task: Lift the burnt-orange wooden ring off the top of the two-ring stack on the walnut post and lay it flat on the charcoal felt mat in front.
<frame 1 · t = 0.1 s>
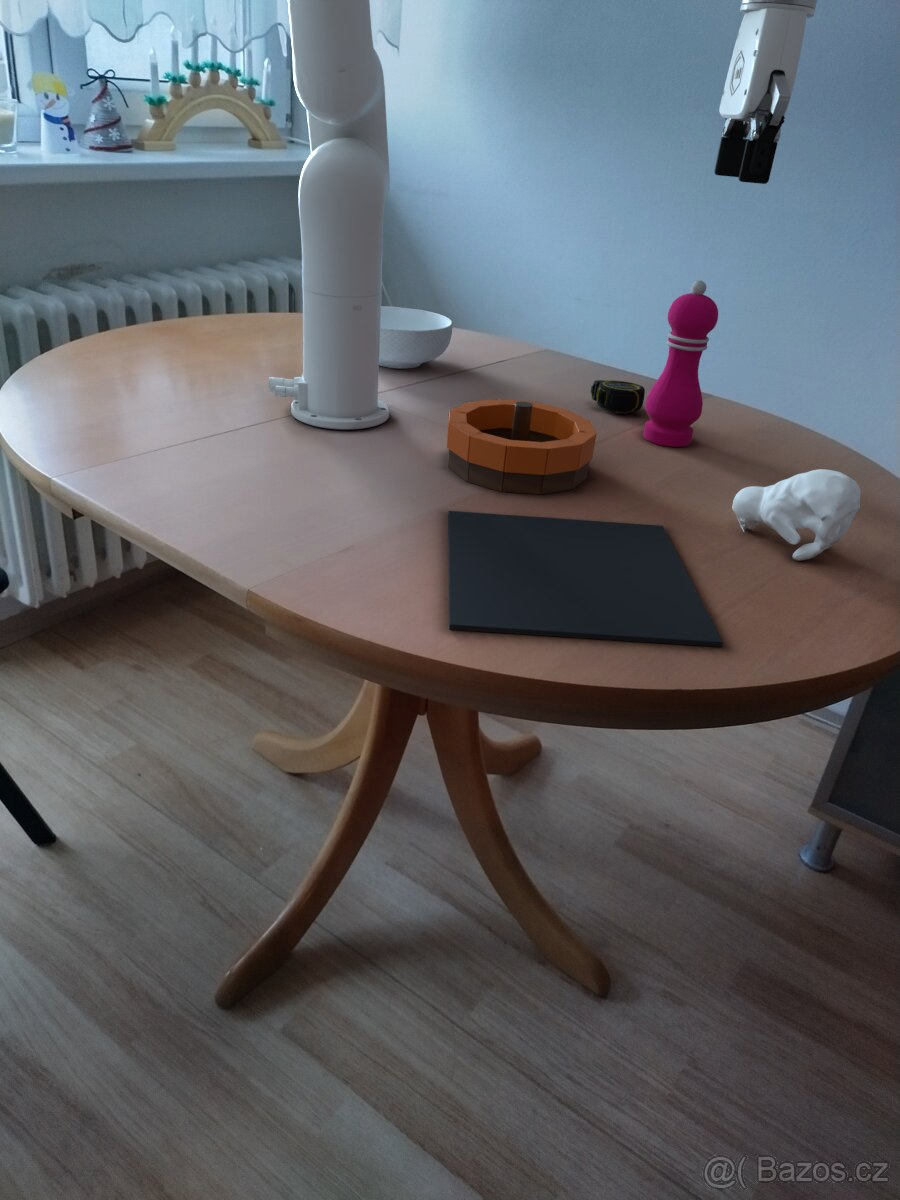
hand: (739, 179, 98), 31 cm above the table, tool pointing down, fingers open, 9 cm apart
walnut ring: (516, 466, 101), on the table, touching orange ring
pepper mill: (666, 440, 114), on the table
mat: (569, 573, 78), on the table
cereal bowl: (397, 363, 137), on the table
orange ring: (518, 447, 100), point 2 cm above the table, touching walnut ring
post: (516, 466, 101), on the table
tape measure: (613, 409, 124), on the table
white animal figurine: (779, 543, 88), on the table
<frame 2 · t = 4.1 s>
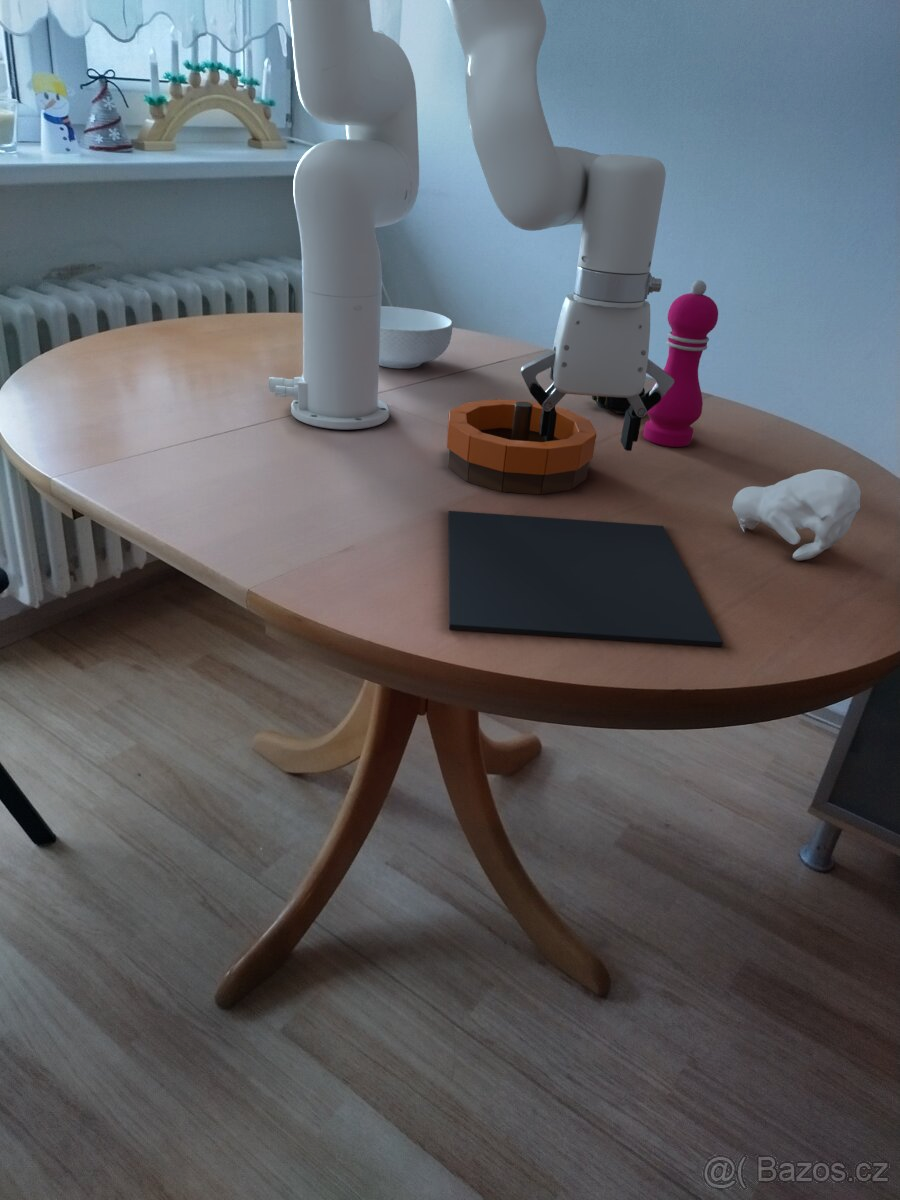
hand: (586, 444, 99), 3 cm above the table, tool pointing down, fingers open, 8 cm apart
nothing on the table moved.
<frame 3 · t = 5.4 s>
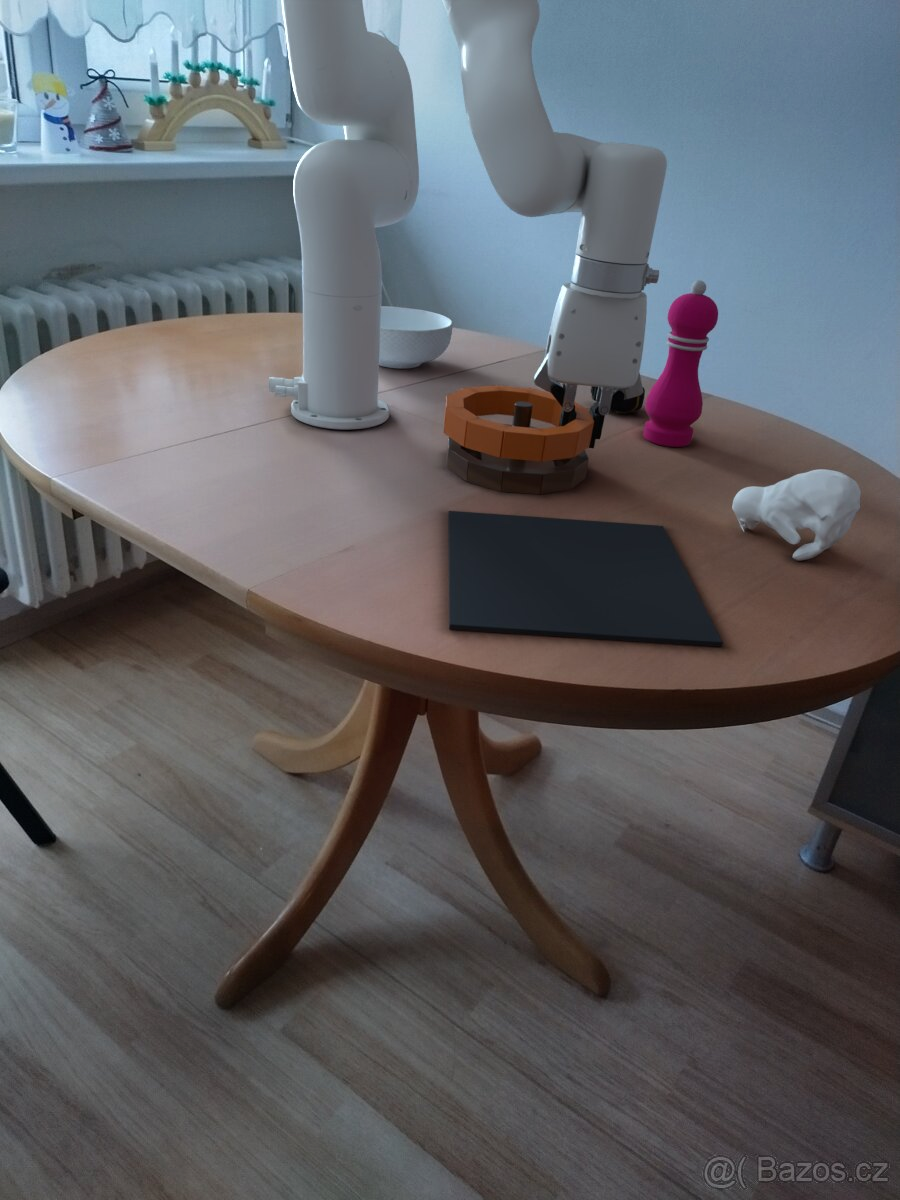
hand: (577, 442, 100), 3 cm above the table, tool pointing down, fingers closed on orange ring, 2 cm apart
walnut ring: (515, 466, 101), on the table
orange ring: (515, 433, 99), point 4 cm above the table, touching gripper
everything else where it was.
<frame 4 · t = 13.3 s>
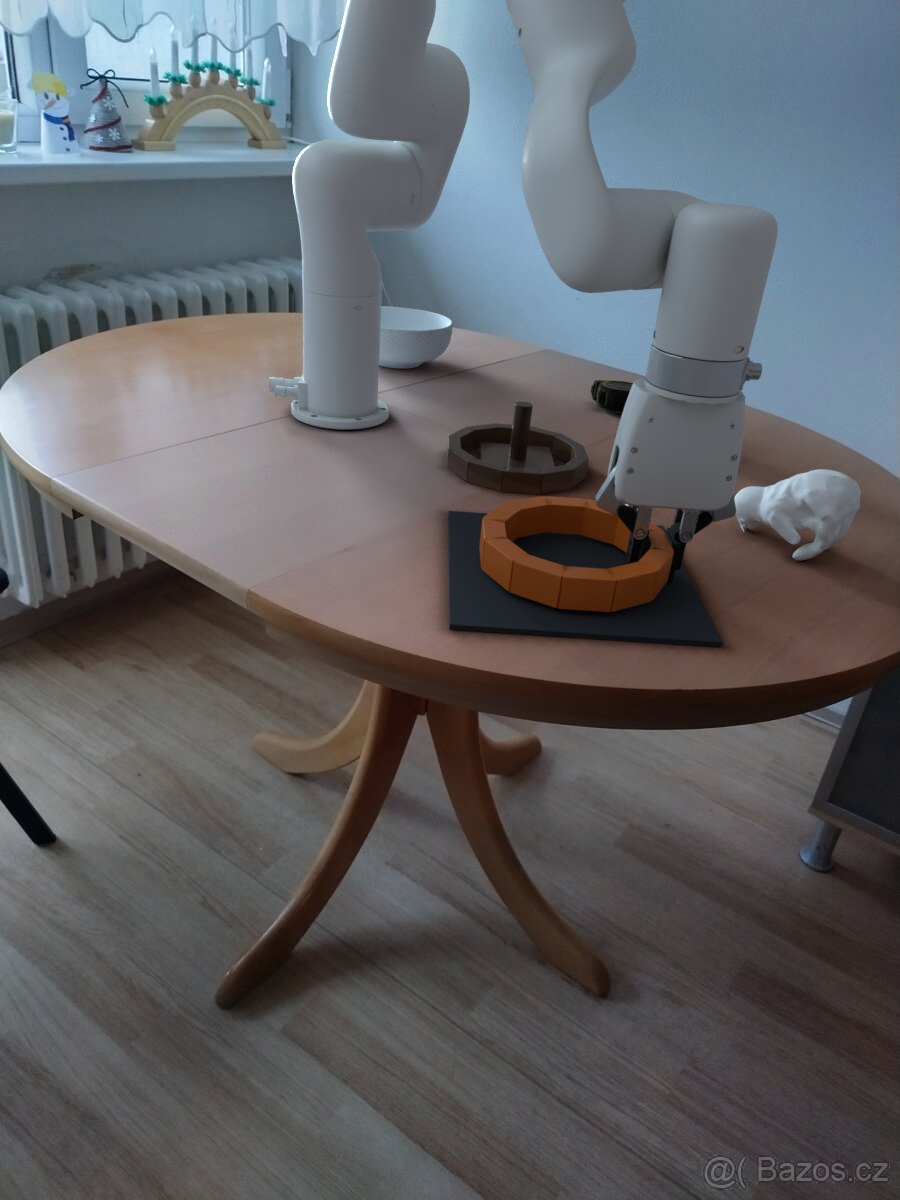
hand: (650, 572, 78), 1 cm above the table, tool pointing down, fingers closed on orange ring, 2 cm apart
orange ring: (571, 564, 78), point 1 cm above the table, touching gripper
everything else where it was.
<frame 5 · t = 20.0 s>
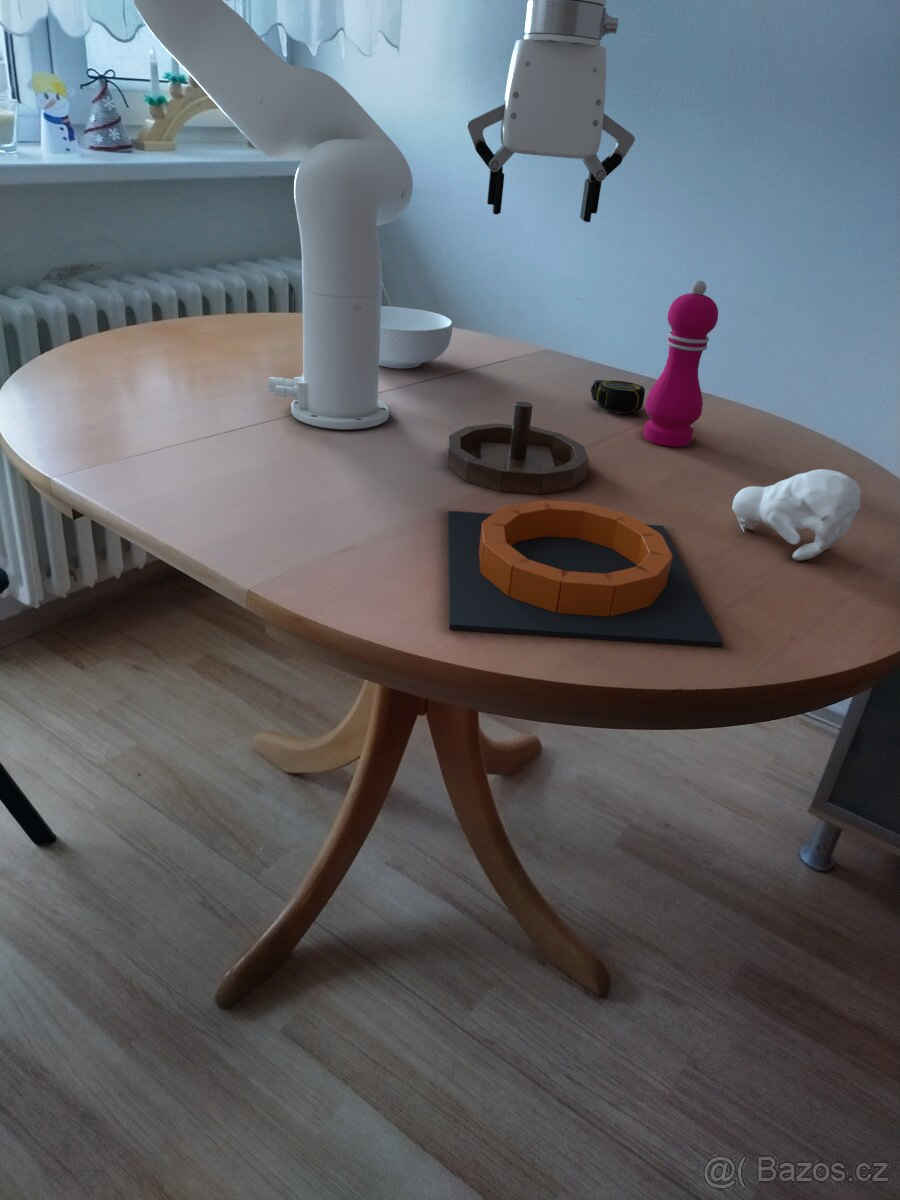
hand: (540, 216, 93), 26 cm above the table, tool pointing down, fingers open, 9 cm apart
orange ring: (570, 568, 78), resting on mat
everything else where it was.
at the end: orange ring inside the target area on the mat (0.1 cm from its centre), point 0.5 cm above the mat's base; orange ring tilted 0°; walnut ring moved 0.1 cm from its start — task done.
